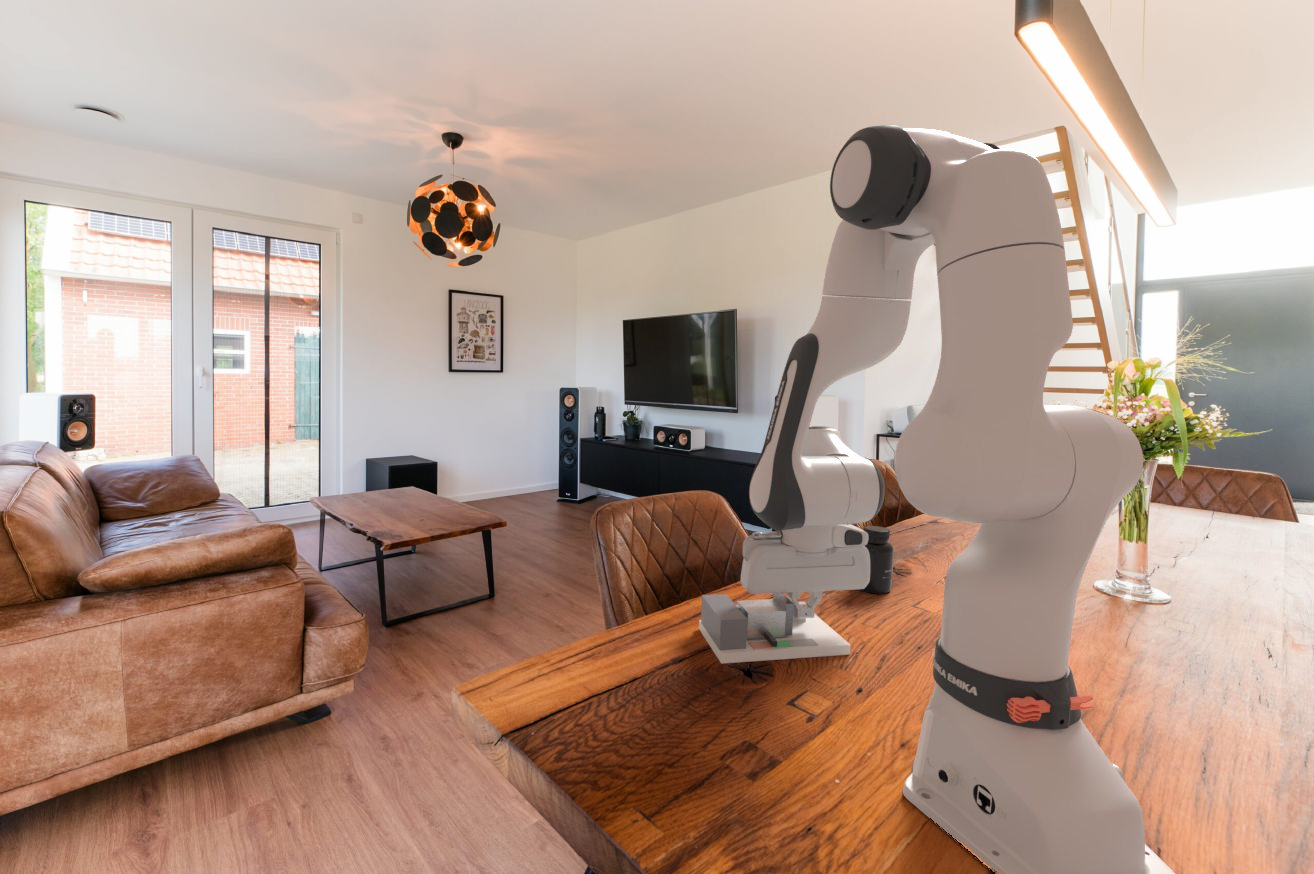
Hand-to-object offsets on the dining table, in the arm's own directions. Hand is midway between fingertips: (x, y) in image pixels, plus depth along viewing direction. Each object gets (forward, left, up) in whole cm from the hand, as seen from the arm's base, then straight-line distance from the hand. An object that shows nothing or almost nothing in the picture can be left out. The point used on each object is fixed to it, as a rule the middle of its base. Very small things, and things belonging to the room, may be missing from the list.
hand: (803, 617), depth 97 cm
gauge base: (0, +5, -4) cm, 6 cm away
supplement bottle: (+20, -24, -4) cm, 31 cm away
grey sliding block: (-2, +6, -2) cm, 7 cm away
